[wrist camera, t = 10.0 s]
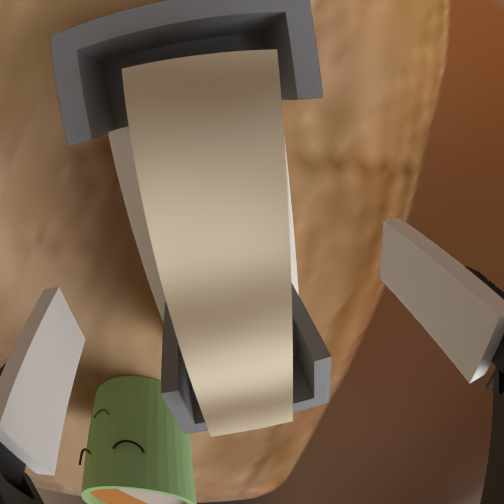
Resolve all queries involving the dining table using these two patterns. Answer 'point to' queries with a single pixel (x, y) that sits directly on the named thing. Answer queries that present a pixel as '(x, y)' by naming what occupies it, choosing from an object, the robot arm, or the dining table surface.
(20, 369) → the robot arm
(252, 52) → the rail
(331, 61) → the dining table surface
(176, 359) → the bracket board
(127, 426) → the mug
